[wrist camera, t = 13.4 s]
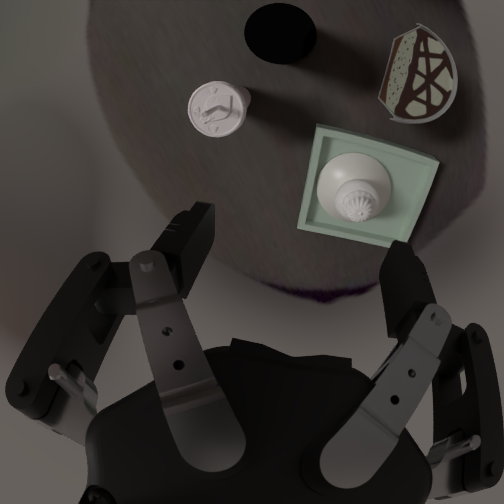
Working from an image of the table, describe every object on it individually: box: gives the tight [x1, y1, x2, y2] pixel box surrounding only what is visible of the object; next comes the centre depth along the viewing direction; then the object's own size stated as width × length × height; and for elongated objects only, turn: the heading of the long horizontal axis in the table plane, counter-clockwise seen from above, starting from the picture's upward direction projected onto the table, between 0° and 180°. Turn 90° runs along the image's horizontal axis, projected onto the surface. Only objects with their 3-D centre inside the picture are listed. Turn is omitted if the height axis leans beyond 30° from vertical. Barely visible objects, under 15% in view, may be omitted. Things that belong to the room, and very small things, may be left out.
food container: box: [378, 23, 458, 124], centre depth 22 cm, size 12×6×10 cm, turn 170°
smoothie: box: [188, 81, 251, 137], centre depth 28 cm, size 6×6×14 cm
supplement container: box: [244, 3, 317, 64], centre depth 23 cm, size 7×7×10 cm
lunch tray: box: [297, 123, 439, 248], centre depth 37 cm, size 16×18×2 cm
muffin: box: [334, 178, 380, 223], centre depth 34 cm, size 6×6×7 cm
